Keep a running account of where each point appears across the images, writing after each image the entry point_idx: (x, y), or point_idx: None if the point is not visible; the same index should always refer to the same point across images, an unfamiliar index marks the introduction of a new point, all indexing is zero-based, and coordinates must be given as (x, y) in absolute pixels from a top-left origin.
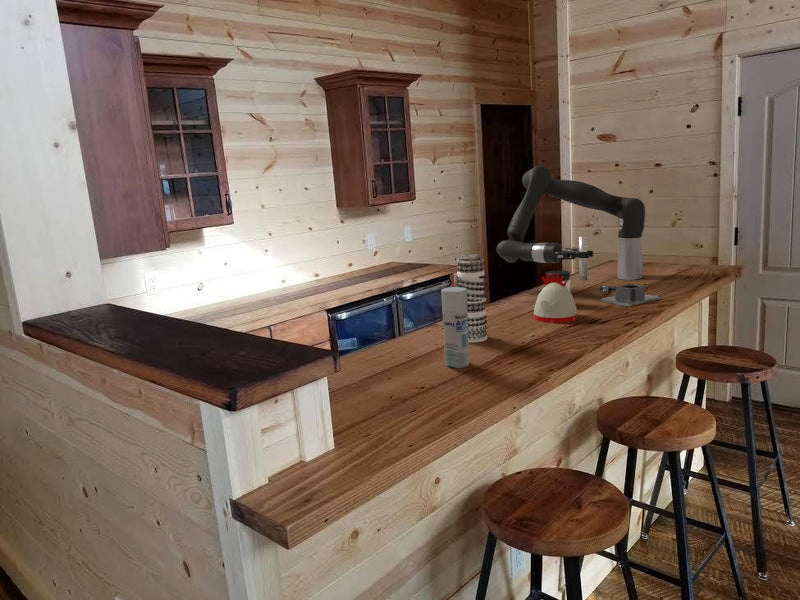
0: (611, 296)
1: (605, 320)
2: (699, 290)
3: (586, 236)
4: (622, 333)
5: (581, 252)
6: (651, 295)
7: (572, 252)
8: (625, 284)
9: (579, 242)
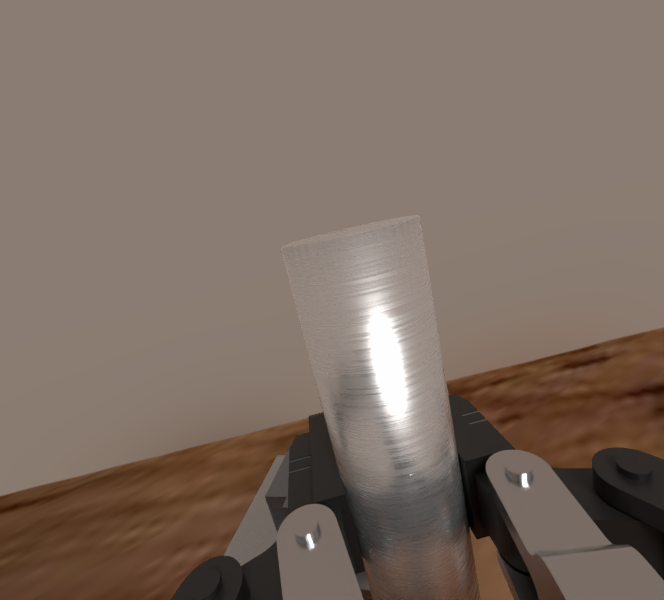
0: (359, 586)
1: (644, 397)
2: (122, 466)
3: (330, 232)
4: (654, 331)
5: (471, 430)
6: (265, 479)
7: (650, 468)
8: (284, 505)
9: (434, 322)
